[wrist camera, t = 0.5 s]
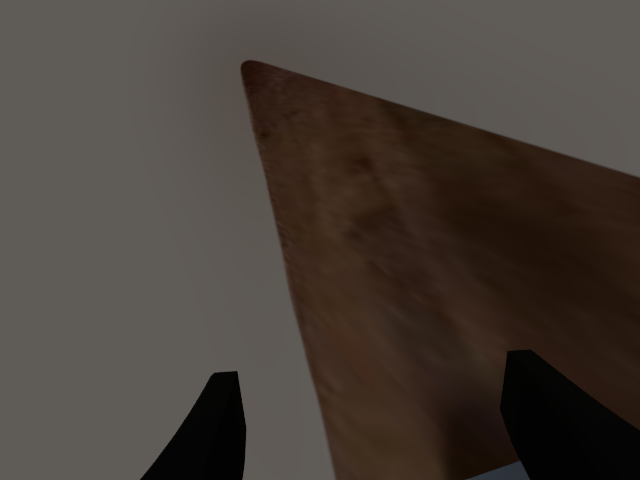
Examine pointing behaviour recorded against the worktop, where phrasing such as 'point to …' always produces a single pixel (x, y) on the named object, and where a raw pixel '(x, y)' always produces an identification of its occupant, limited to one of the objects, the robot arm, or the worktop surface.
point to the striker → (505, 473)
